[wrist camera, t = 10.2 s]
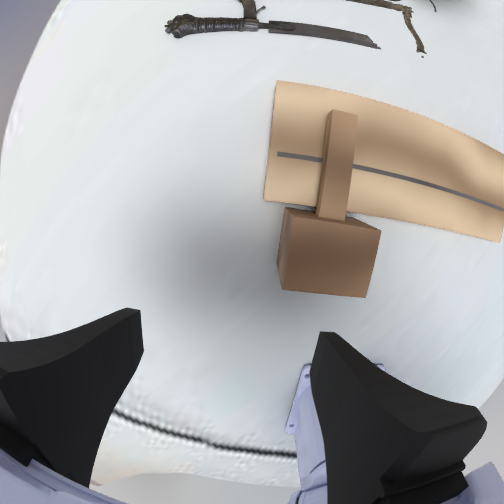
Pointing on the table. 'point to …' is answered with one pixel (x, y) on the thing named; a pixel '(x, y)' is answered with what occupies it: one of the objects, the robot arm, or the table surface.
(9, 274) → the table surface
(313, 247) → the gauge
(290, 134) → the board
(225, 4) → the table surface
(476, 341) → the table surface
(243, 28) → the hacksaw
